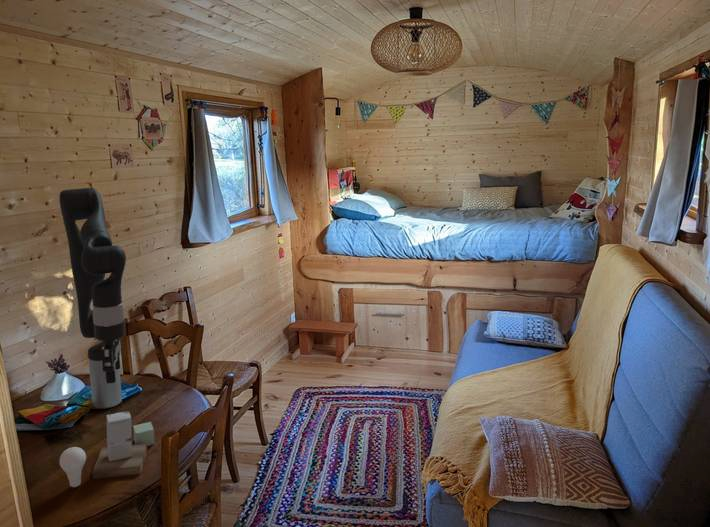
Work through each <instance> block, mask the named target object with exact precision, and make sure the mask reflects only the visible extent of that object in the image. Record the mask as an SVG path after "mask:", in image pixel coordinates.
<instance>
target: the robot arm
mask: <svg viewBox="0 0 710 527" xmlns="http://www.w3.org/2000/svg"><path fill="white" fill-rule="evenodd" d="M58 201H59V206H60V207H59V208H60V211H61V216H62V220H63V224H64V228H65V232H66V234H65V235H66V237H67V238H66V239H67V241H68V242H67V243H68V250H69V258H70V265H71V266H70V268H71V272H72V277H73V282H74V288H75V292H76V298H77V309H78V310H77V311H78V319H79V320H78V321H79V329H80V333H81V335H82V336H83V338H85V339H96V340H98V341H101V342H99V343H97V344H94V345H92V346H90V347H89V348H88V350H87V359H88V361H87V362H88V370H89V383H90V390H91V402H92V406H93V407H94V408H96V409H108V408H113V407H116V406H117V405H119V404H120V403H122V401H123V398H122V384H121V373H120V370H121V359H120V356H121V351H122V346H121V338H123V337H125V335H126V325H125V313H124V312H125V311H124V310H125V309H124V307H123V300H122V299H123V298H122V297H123V296H122V282H123V281H122V280H123V275H124V271H125V267H126V263H127V256H126V252H125V250H124V249H123V248H122V247H121V246H120V245H113V241H112V239H111V238H112V237H111V235H110V233H109V231H108V228H107V223H106V222H107V220H106V214H105V211H104V204H103V199H102V196H101V194H100V193H99V191H98V190H97V189H96V188H93V187H84V188H72V189H63V190H61V191H60V193H59V200H58ZM83 220H85V221H84V223H83V224H82V226H81V228H79V226H78V225H77V223H76V221H83ZM106 274H110V275H109V276H108V277H107V278H105V277H106ZM91 303H92V309H91Z"/></svg>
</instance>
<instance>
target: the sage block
mask: <svg viewBox="0 0 710 527" xmlns="http://www.w3.org/2000/svg"><path fill="white" fill-rule="evenodd" d="M132 429H133V430H132V431H133V441H134V444H136V443H146V442H147V447H150V446H154V445H155V429H154V426H153V424H152V422H151V421H147V422H143V423H140V424H135V425H132ZM153 444H154V445H153Z"/></svg>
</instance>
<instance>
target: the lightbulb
mask: <svg viewBox="0 0 710 527" xmlns="http://www.w3.org/2000/svg"><path fill="white" fill-rule="evenodd" d="M86 461H87V455H86V452H85V450H84V449H83V448H81V447H78V446H73V447H68V448H67V449H65V450H64V451H63V452H62V453H61V455H60V457H59V461H58V462H59V466H60V468H61V470H63V471H64V472H65V474H66V476H67V479H68V481H69V486H70V487H71V488H78V487H79V486H80V485H81V484H82V478H81V477H82V470H83V467H84V466H85V464H86Z"/></svg>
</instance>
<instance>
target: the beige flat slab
mask: <svg viewBox="0 0 710 527" xmlns="http://www.w3.org/2000/svg"><path fill="white" fill-rule="evenodd" d="M146 452H148V446H147V442H146V443H136V444H135V443H132V456H131V457H128V458H124V459H119V460H114V461H109V459H108V454H107V445H105V446H102V448H101V449H100V452H99V455H98V457H97V460H96V462H95V464H94V466H93V469H92V478H93V480H94V479H95V480H96V479H105V478H114V477H125V476H124V475H126V476H133V475H141V474H142V470H143V468H142V467H144V464H143V463H145V459H146V457H145V456H147V453H146Z"/></svg>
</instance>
